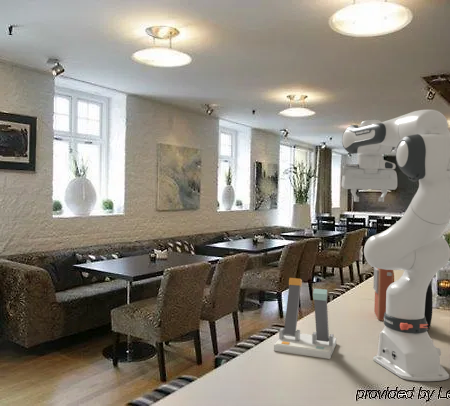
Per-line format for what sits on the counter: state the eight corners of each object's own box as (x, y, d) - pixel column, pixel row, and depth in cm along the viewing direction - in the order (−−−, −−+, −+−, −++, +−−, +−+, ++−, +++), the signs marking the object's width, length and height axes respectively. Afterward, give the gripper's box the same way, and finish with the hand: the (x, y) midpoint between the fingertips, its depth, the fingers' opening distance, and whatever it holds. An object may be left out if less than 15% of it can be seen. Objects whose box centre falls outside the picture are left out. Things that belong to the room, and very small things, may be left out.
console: (284, 336, 160) (285, 322, 160) (336, 343, 154) (336, 329, 153) (273, 350, 146) (274, 335, 146) (329, 359, 140) (330, 342, 139)
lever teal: (317, 336, 150) (314, 288, 141) (329, 338, 148) (327, 289, 140) (316, 341, 148) (312, 293, 139) (328, 343, 146) (326, 294, 138)
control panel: (388, 312, 195) (394, 322, 180) (371, 311, 196) (376, 321, 181) (390, 262, 194) (395, 268, 179) (372, 262, 195) (377, 267, 181)
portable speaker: (405, 325, 176) (406, 275, 176) (431, 328, 172) (433, 277, 172) (404, 331, 168) (405, 279, 168) (432, 335, 165) (433, 281, 164)
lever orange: (284, 335, 153) (290, 279, 160) (296, 337, 152) (302, 280, 159) (282, 334, 151) (289, 277, 158) (294, 336, 150) (300, 278, 157)
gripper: (345, 163, 164) (344, 201, 164) (399, 164, 165) (398, 202, 166) (339, 164, 170) (338, 201, 171) (392, 165, 172) (391, 201, 172)
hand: (368, 201), depth 168 cm, fingers open, 8 cm apart
